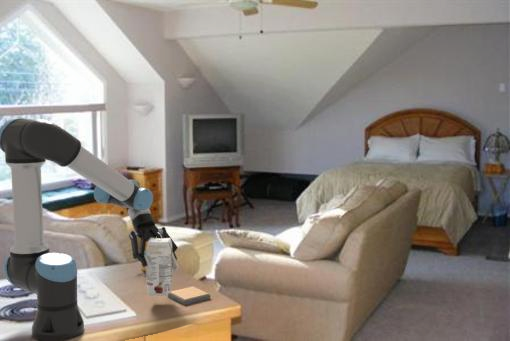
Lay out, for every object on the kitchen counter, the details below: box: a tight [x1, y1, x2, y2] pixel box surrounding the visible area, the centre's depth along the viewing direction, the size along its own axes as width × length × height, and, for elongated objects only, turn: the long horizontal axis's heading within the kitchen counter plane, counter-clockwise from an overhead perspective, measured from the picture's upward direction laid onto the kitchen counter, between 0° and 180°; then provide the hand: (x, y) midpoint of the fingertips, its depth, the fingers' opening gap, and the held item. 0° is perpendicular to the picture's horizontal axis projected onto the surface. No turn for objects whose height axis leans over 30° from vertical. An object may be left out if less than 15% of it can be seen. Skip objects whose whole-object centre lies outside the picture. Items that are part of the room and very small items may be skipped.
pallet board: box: [167, 286, 211, 306], centre depth 214 cm, size 11×11×2 cm
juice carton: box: [145, 237, 173, 297], centre depth 206 cm, size 8×9×19 cm
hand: (164, 271), depth 204 cm, fingers closed on juice carton, 9 cm apart
